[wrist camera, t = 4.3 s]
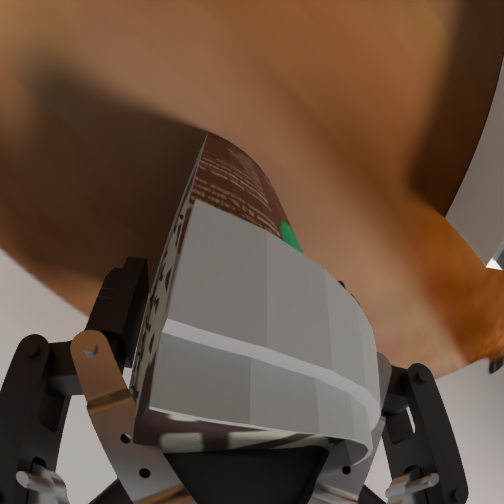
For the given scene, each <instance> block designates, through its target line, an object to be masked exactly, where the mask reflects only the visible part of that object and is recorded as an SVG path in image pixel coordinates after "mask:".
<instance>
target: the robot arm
mask: <svg viewBox="0 0 504 504" xmlns="http://www.w3.org/2000/svg"><path fill="white" fill-rule="evenodd" d="M338 282H339V283H340V284H341V285H342V286H343V287H344V288H345V286H344V283H343V282H342V281H338ZM345 289H346V288H345ZM148 292H149V283H148V268H147V259H143V258H136V257H128V258H127V260H126V262H125V265H124V267H123V269H119V268H114V269H113V270H112V271H111V272H110V273H109V274H108V275H107V276H106V277H105V280H104V282H103V284H102V288H101V289H100V292H99V294H98V297H97V299H96V302H95V304H94V307H93V309H92V312H91V315H90V317H89V320H88V323H87V325H86V328H85V330H84V331H83V332H80V333H79V334H77V335H76V336H75V337H74V339H73V340H71V341H67V342H57V343H48V342H47V340H46V339H45V338H44V337H43V336H41V335H38V334H32V335H29V336H26V337H25V338H23V339H22V340H21V342H20V343H19V345H18V347H17V349H16V352H15V354H14V357H13V359H12V361H11V364H10V366H9V369H8V372H7V374H6V377H5V380H4V382H3V385H2V388H1V391H0V504H70V503H69V501H68V498H67V489H66V485H65V483H64V481H63V480H62V478H61V477H60V476H59V475H58V474H57V473H55V470H56V464H57V458H58V453H59V448H60V443H61V438H62V433H63V428H64V424H65V419H66V415H67V411H68V407H69V403H70V399H71V396H72V395H83V394H84V395H85V398H86V401H87V410H88V413H89V416H90V419H91V421H92V424H93V426H94V429H95V431H96V433H97V435H98V437H99V440H100V442H101V444H102V446H103V449H104V451H105V453H106V455H107V457H108V459H109V461H110V463H111V465H112V467H113V469H114V471H115V472H116V474H117V476H118V478H117V479H116V480H115V481H114V482H113V483H112V484H111V485H109V486H108V487H107V488H106V489H105V490H104V491H103V492H102V493H101V494H100V495H98V496H97V497H96V498H95V499H93V500H92V501H91V502H90V503H89V504H386V503H385V502H384V501H383V500H382V499H380V498H379V497H378V496H377V495H376V494H375V493H373V492H372V491H371V490H370V489H369V488H368V487H366V485H364V482H365V480H366V477H367V475H368V472H369V470H370V467H371V464H372V462H373V459H374V456H375V453H376V450H377V447H378V444H379V441H380V438H381V435H382V439H383V442H384V447H385V451H386V455H387V459H388V463H389V468H390V473H391V477H392V482H391V484H390V486H389V488H388V489H387V490H386V493H385V495H386V497H387V498H388V502H387V504H465V503H466V501H467V498H468V486H467V481H466V477H465V473H464V469H463V465H462V461H461V458H460V454H459V450H458V447H457V444H456V440H455V437H454V434H453V431H452V427H451V424H450V421H449V418H448V416H447V413H446V410H445V407H444V404H443V401H442V399H441V396H440V393H439V391H438V388H437V386H436V383H435V380H434V378H433V375H432V373H431V371H430V370H429V369H428V368H427V367H426V366H425V365H423V364H420V363H415V364H413V365H411V366H410V367H409V368H408V369H404V368H400V367H396V366H392V365H391V364H390V362H389V360H388V359H387V358H386V357H385V356H384V355H383V354H381V353H379V352H377V351H376V352H377V362H378V374H379V389H380V409H381V416H380V418H379V420H378V423H377V425H376V427H375V428H374V429H373V430H372V431H371V436H372V444H373V452H372V453H371V454H370V456H369V457H368V458H366V459H365V460H363V461H362V462H360V463H359V464H357V465H352V464H351V460H350V457H349V453H348V449H347V445H346V442H345V440H338V439H335V440H333V441H331V442H330V443H328V445H327V447H326V449H325V448H323V447H321V446H317V445H308V446H304V447H294V448H279V449H237V450H220V451H203V452H186V453H162V451H161V449H160V448H159V446H151V445H141V444H135V443H133V432H134V423H135V413H136V404H135V402H134V400H133V397H132V395H131V393H130V392H129V390H128V388H127V386H126V383H125V381H124V379H123V377H122V375H123V370H124V367H127V368H132V364H133V360H134V355H135V351H136V346H137V341H138V337H139V333H140V328H141V324H142V320H143V316H144V312H145V308H146V304H147V300H148ZM351 295H352V294H351ZM352 296H353V295H352ZM353 297H354V296H353ZM357 302H358V301H357ZM358 304H359V303H358ZM359 306H360V305H359ZM408 406H409V408H410V411H411V414H412V417H413V421H414V424H415V433H413V429H412V426H411V422H410V419H409V416H408V413H407V409H406V408H407V407H408ZM129 439H131V441H130V443H128V441H129Z"/></svg>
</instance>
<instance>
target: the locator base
mask: <svg viewBox="0 0 504 504" xmlns="http://www.w3.org/2000/svg"><path fill="white" fill-rule="evenodd" d="M445 219H446V220H447V221H448V222H449V223H450V224H451V225H452V226H453V227H454V229H455V230H456V231H457V232H458V233H459V234H460V236H461V237H462V238H463V239H464V240H465V241H466V243H467V244H468V245H469V246H470V248H471V249H472V250H473V251H474V253H475V254H476V255H477V256H478V258H479V259H480V260H481V261H482V263H483V264H484V265H485V267H489V268H494V269H499V270H503V271H504V57H503V62H502V67H501V71H500V75H499V80H498V83H497V87H496V91H495V95H494V98H493V102H492V105H491V108H490V111H489V115H488V118H487V121H486V124H485V127H484V129H483V132H482V135H481V138H480V140H479V143H478V146H477V148H476V151H475V153H474V156H473V158H472V161H471V163H470V166H469V168H468V170H467V173H466V175H465V177H464V179H463V182H462V184H461V186H460V188H459V190H458V192H457V194H456V197H455V199H454V201H453V203H452V205H451V207H450V209H449V211H448V213H447V215H446V217H445Z"/></svg>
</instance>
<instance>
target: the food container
mask: <svg viewBox="0 0 504 504" xmlns="http://www.w3.org/2000/svg"><path fill="white" fill-rule="evenodd" d="M129 392H130V393H131V395H132V397H133V400H134V402H135V404H136V413H135V423H134V432H133V443H135V444H141V445H151V446H159V448H160V449H161V451H162V453H186V452H203V451H220V450H237V449H279V448H294V447H304V446H308V445H317V446H321V447H323V448H325V449H326V447H327V445H328V443H330V442H331V441H333V440H335V439H338V440H345V442H346V445H347V449H348V453H349V457H350V460H351V464H352V465H357V464H359V463H360V462H362V461H363V460H365V459H366V458H368V457H369V456H370V454H371V453H372V452H373V444H372V436H371V431H372V430H373V429H374V428H375V427H376V425H377V423H378V420H379V418H380V416H381V409H380V389H379V374H378V362H377V352H376V346H375V340H374V335H373V330H372V327H371V325H370V323H369V322H368V320H367V318H366V316H365V314H364V313H363V311H362V309H361V307H360V306H359V304H358V302H357V300H356V299H355V298H354V297H353V296H352V295H351V294H350V293H349V292H348V291H347V290H346V289H345V288H344V287H343V286H342V285H341V284H340V283H339V282H338V281H337V280H336V279H335V278H334V277H333V276H332V275H331V274H330V273H329V272H328V271H327V270H326V269H325V268H324V267H322V266H321V265H319V264H318V263H316V262H314V261H313V260H311V259H310V258H308V257H307V256H305V255H304V254H303V252H302V250H301V248H300V245H299V243H298V241H297V239H296V236H295V234H294V232H293V230H292V227H291V225H290V223H289V221H288V219H287V216H286V214H285V212H284V210H283V208H282V206H281V203H280V201H279V199H278V197H277V195H276V193H275V191H274V189H273V187H272V185H271V183H270V181H269V179H268V178H267V176H266V175H265V173H264V172H263V171H262V169H261V168H260V167H259V165H258V164H257V163H256V162H255V161H254V160H252V159H251V158H250V157H249V156H248V155H247V154H246V153H245V152H244V151H242V150H241V149H240V148H238V147H237V146H235V145H234V144H232V143H231V142H229V141H227V140H225V139H223V138H221V137H219V136H217V135H214V134H212V133H210V132H208V133H207V135H206V138H205V140H204V142H203V145H202V147H201V150H200V152H199V154H198V157H197V159H196V162H195V164H194V167H193V169H192V172H191V174H190V177H189V180H188V182H187V185H186V187H185V190H184V193H183V195H182V198H181V201H180V204H179V206H178V209H177V212H176V215H175V218H174V220H173V223H172V226H171V229H170V232H169V235H168V238H167V241H166V244H165V247H164V250H163V253H162V256H161V259H160V262H159V266H158V269H157V272H156V275H155V279H154V282H153V285H152V289H151V292H150V296H149V300H148V304H147V308H146V312H145V316H144V320H143V324H142V328H141V333H140V337H139V342H138V346H137V351H136V355H135V361H134V365H133V370H132V375H131V381H130V386H129ZM130 441H131V439H129V441H128V443H130ZM117 478H118V476H117Z"/></svg>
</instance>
